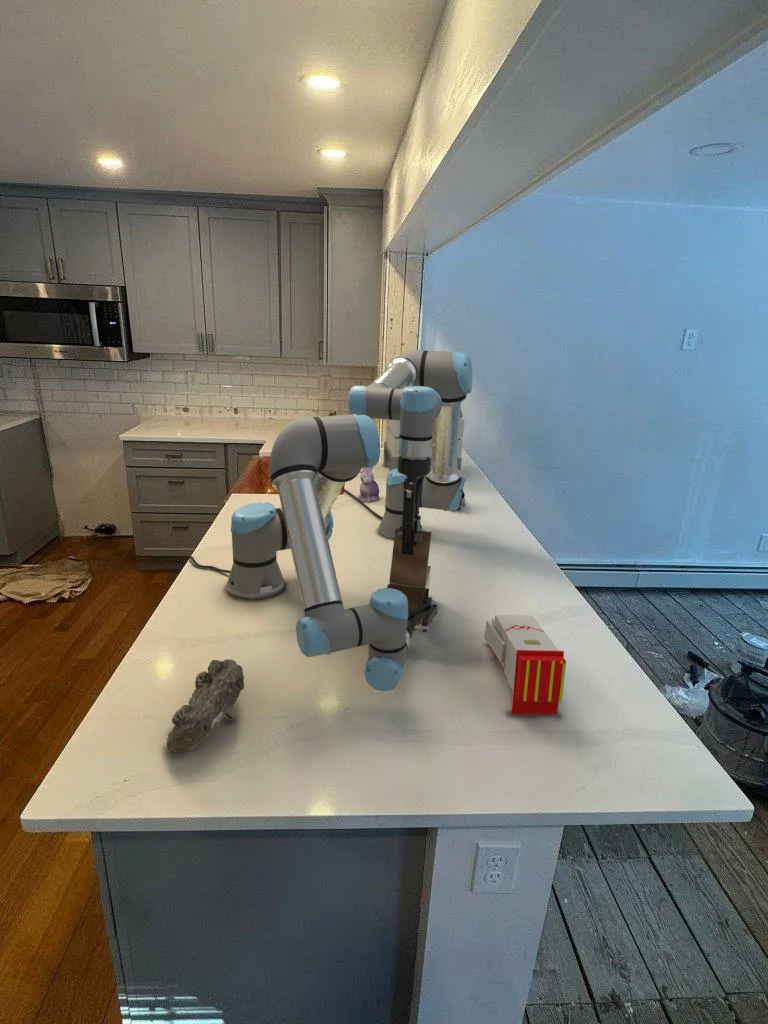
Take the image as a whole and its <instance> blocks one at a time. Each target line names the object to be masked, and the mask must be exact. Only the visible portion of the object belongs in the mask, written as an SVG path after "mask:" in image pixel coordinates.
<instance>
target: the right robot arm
mask: <svg viewBox="0 0 768 1024" xmlns="http://www.w3.org/2000/svg"><path fill="white" fill-rule="evenodd" d="M472 363H473V362H472V359H471V357H470V355H469V354H468V353H465V352H459V351H458V352H457V351H445V350H444V351H443V350H441V351H440V350H425V349H416V350H412V351H407V352H404V353H402V354H399V355H397V356H395V357H394V358H392V359H391V360H390V361H388V363H386V366H385V368H384V371H383V372H382V373H381V374H379V375H378V377H376V378H375V379H374V380H373V381H372V382H371V383H370V384H368V386H367V385H353V386H352V387H350V390H349V394H348V400H347V401H348V403H347V404H348V411H349V415H353V414H355V415H367V416H368V417H370V418H371V419H377V420H386V419H388V420H399V421H400V435H399V446H398V454H399V455H400V456H399V457H398V468H396V469H393V470H391V471H390V470H389V472H388V473H387V475H386V482H385V504H384V505H385V507H384V508H385V509H384V513H383V515H382V516H381V515H380V514H378V513H376V512H375V511H374V510H373V509H371V508H370V507H369V506H368V505H367V504H366V503H365V502H364V501H361V500H360V498H359V497H357V496H356V495H354V494H353V493H351V492H349V491H348V490H347V489H345V488H344V487H343V488H342V490H341V491H343V492H345V493H346V494H347V495H349V496H350V497H352V498H353V499H354V500H355V501H357V502H358V503H360V504H361V505H362V506H363V507H364V508H365V509H367V511H369V512H370V513H371V514H372V515H374V516H375V517H377V518H379V519H380V520H381V522H379V527H378V533H379V534H380V535H381V536H382V537H385V538H387V539H389V540H394V537H395V528H399V529H402V530H403V536H402V553H401V554H406V555H413V548H414V546H416V542H414V534H417V530H418V531H423V525H422V524H421V519H422V516H421V515H419V514H420V508H422V509H430V510H431V509H433V510H442V511H444V512H449V511H451V512H455V511H457V510H459V509H458V508H459V504H460V500H461V496H462V492H463V491H464V486H465V482H466V478H465V477H463V476H462V473H461V472H462V471H461V472H460V470H459V469H457V458H458V442H459V426H460V410H461V411H462V407H461V406H462V403H463V402H464V401H466V399H467V395H468V394H471V393H472V390H473V365H472ZM431 442H432V443H431ZM431 447H432V450H431ZM430 455H431V459H430V457H429V456H430Z"/></svg>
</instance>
